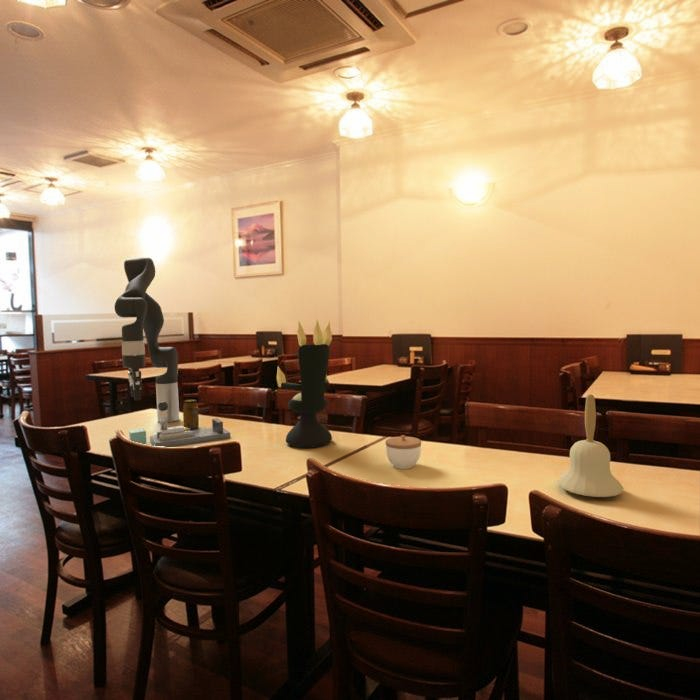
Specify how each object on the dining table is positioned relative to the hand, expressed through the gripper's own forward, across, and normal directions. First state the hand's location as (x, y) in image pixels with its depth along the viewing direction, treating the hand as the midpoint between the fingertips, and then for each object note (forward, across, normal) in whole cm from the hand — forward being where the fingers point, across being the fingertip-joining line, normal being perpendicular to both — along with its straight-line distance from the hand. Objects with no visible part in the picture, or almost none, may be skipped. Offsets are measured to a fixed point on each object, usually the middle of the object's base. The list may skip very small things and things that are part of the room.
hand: (136, 398), depth 181 cm
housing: (+18, 0, 0) cm, 18 cm away
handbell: (+18, +116, +92) cm, 149 cm away
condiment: (+18, -18, +23) cm, 34 cm away
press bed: (+18, 0, +18) cm, 25 cm away
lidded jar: (+18, +72, +66) cm, 99 cm away
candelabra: (+18, +33, +54) cm, 66 cm away
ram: (+15, 0, +12) cm, 20 cm away
